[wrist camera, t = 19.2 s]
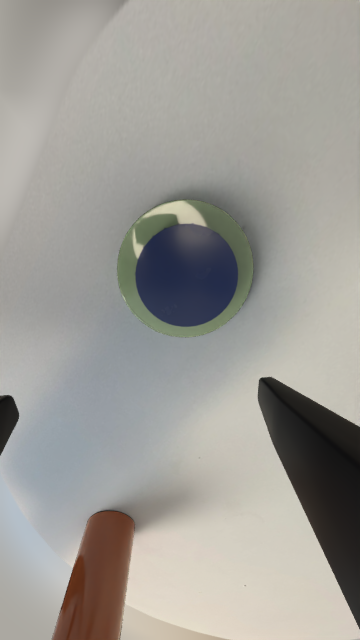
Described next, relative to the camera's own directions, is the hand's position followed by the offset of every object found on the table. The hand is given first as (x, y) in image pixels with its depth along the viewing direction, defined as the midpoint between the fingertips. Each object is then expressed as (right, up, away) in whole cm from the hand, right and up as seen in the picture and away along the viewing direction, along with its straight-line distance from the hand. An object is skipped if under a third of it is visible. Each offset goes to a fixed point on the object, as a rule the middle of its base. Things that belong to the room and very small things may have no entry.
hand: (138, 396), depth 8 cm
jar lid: (+2, +6, +7) cm, 9 cm away
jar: (-7, -23, +20) cm, 31 cm away
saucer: (+2, +6, +9) cm, 11 cm away
